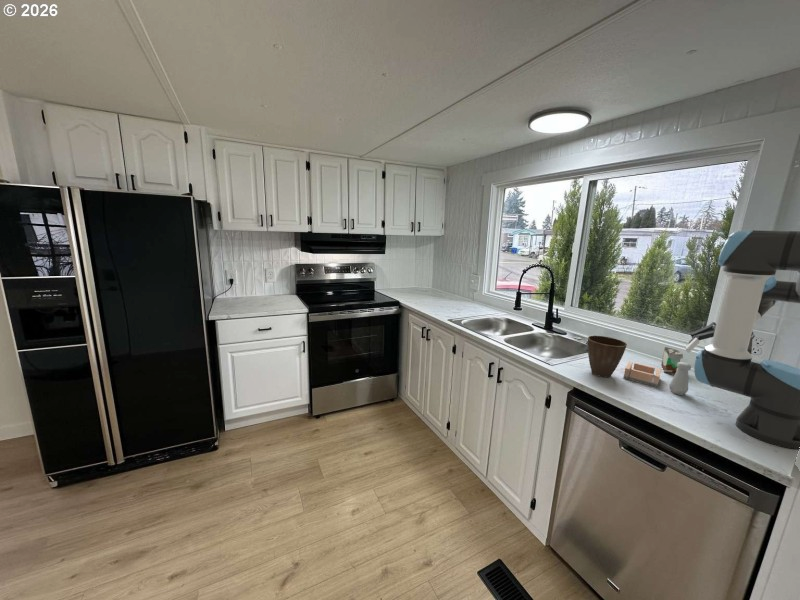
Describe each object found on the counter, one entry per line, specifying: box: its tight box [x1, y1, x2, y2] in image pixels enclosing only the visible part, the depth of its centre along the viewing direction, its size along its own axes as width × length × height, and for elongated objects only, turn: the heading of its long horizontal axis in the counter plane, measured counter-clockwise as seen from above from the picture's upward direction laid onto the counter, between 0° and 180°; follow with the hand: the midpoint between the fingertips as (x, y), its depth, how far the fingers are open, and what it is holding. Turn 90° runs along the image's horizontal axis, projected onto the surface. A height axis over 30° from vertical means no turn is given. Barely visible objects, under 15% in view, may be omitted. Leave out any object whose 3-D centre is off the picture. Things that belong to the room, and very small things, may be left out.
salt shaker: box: [669, 361, 692, 396], centre depth 129 cm, size 6×6×13 cm
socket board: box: [623, 361, 662, 388], centre depth 143 cm, size 12×12×5 cm
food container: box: [660, 346, 684, 374], centre depth 152 cm, size 12×6×10 cm, turn 148°
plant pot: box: [587, 335, 628, 378], centre depth 144 cm, size 15×15×16 cm
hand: (705, 356), depth 130 cm, fingers open, 13 cm apart
